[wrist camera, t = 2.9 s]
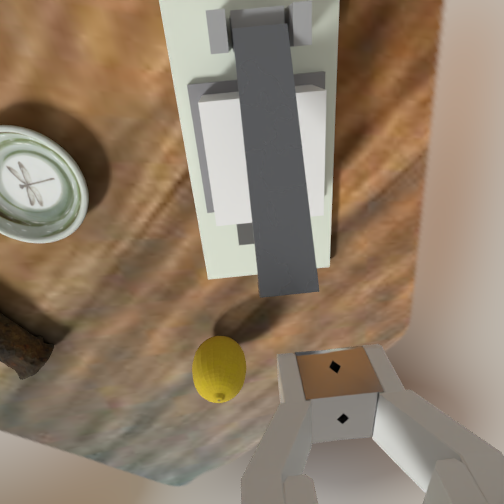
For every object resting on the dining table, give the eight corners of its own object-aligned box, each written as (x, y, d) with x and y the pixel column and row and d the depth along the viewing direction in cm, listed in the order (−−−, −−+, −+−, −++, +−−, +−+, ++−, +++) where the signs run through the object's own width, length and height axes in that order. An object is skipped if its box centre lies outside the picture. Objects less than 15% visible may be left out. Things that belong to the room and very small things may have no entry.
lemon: (204, 361, 41) (200, 424, 34) (188, 327, 38) (180, 388, 31) (249, 350, 41) (254, 412, 34) (237, 315, 38) (239, 374, 31)
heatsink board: (155, -29, 23) (129, -60, 17) (337, -46, 23) (378, -82, 17) (208, 273, 35) (204, 322, 29) (327, 261, 35) (348, 306, 29)
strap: (234, 57, 21) (232, 28, 19) (283, 52, 21) (287, 23, 19) (259, 295, 20) (260, 297, 17) (311, 290, 20) (319, 291, 18)
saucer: (119, 204, 31) (111, 215, 29) (32, 247, 32) (19, 260, 30) (42, 97, 26) (26, 101, 24) (-55, 153, 28) (-78, 162, 26)
